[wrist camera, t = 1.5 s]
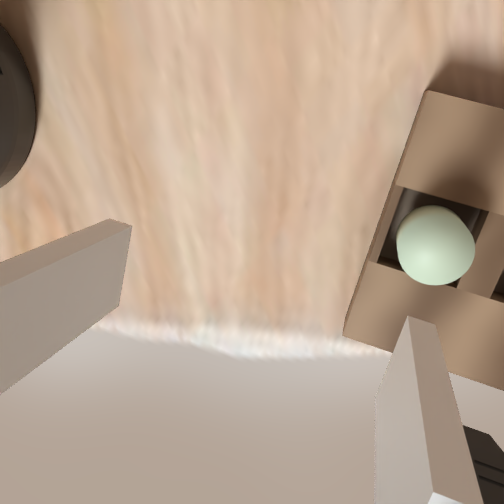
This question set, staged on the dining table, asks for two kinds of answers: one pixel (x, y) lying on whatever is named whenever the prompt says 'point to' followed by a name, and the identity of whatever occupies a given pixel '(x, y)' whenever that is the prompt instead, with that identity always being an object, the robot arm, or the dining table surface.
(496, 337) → the wooden egg tray
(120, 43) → the dining table surface
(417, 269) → the pale green egg
